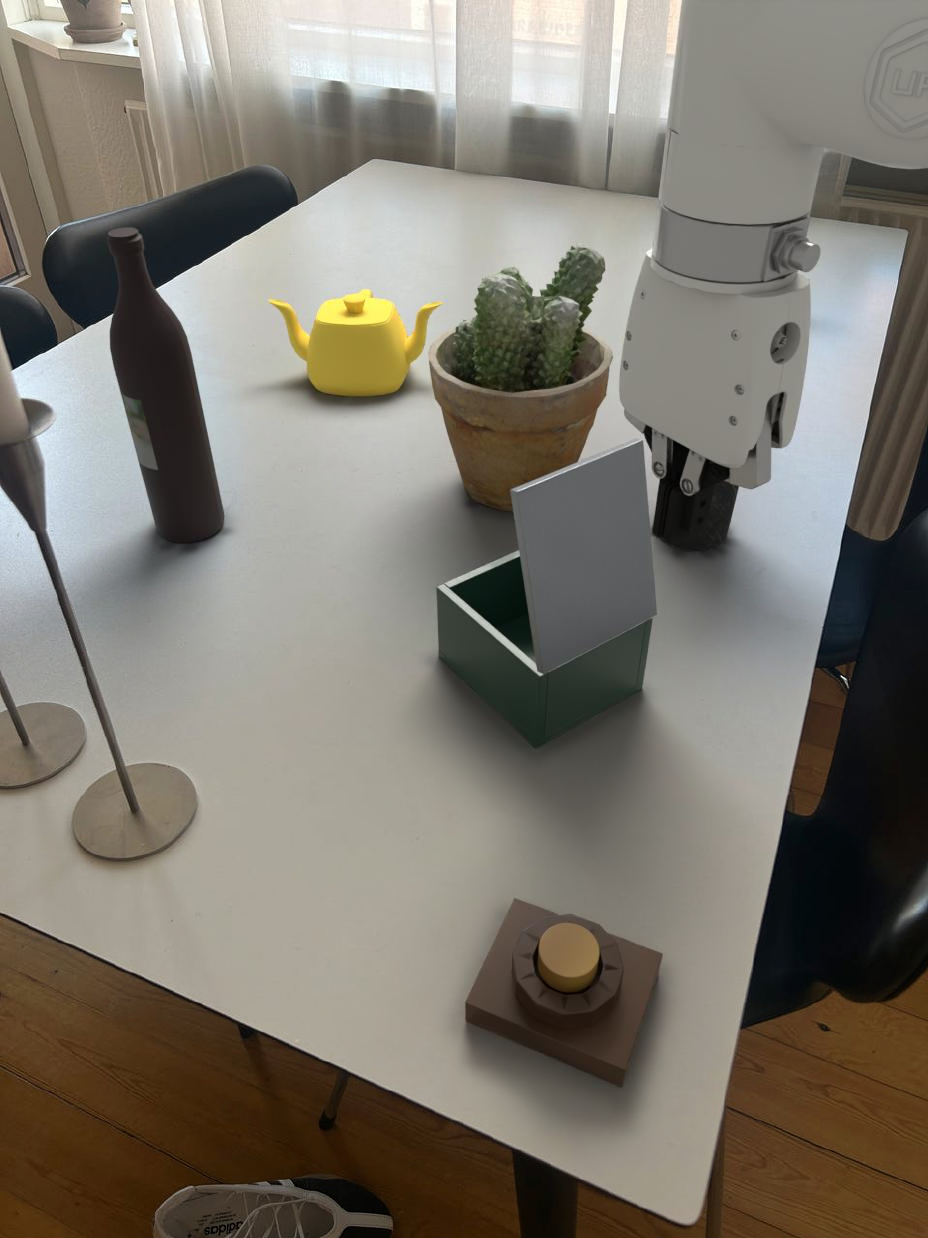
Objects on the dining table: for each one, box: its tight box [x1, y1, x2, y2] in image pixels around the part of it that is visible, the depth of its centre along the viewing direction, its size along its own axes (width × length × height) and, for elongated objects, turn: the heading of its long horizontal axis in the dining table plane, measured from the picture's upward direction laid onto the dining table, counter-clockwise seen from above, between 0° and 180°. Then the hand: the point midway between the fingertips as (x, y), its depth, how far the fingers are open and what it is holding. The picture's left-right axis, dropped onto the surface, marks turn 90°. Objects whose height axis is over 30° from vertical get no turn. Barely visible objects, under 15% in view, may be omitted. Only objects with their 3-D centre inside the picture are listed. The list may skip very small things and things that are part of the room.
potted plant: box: [427, 242, 614, 512], centre depth 98 cm, size 18×19×25 cm
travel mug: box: [661, 481, 740, 553], centre depth 93 cm, size 8×8×20 cm
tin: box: [435, 549, 654, 749], centre depth 81 cm, size 14×12×8 cm
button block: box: [464, 897, 664, 1088], centre depth 59 cm, size 10×8×4 cm
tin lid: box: [510, 438, 658, 674], centre depth 70 cm, size 14×12×1 cm
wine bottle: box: [106, 226, 225, 544], centre depth 91 cm, size 7×7×30 cm
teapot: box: [267, 288, 443, 397], centre depth 125 cm, size 22×16×11 cm
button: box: [538, 923, 600, 993], centre depth 58 cm, size 4×4×2 cm
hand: (678, 532), depth 61 cm, fingers closed
